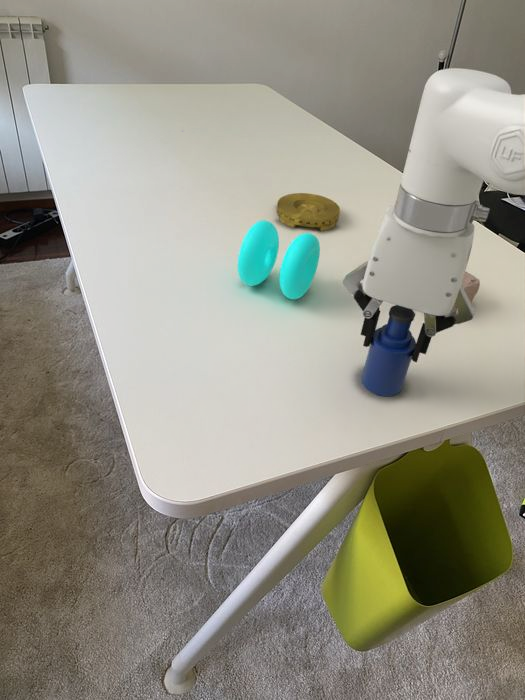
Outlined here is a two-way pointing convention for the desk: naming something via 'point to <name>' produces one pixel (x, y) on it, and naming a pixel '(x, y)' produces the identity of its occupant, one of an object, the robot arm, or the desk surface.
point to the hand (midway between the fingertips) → (392, 346)
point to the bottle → (390, 354)
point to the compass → (308, 211)
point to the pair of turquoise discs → (263, 252)
